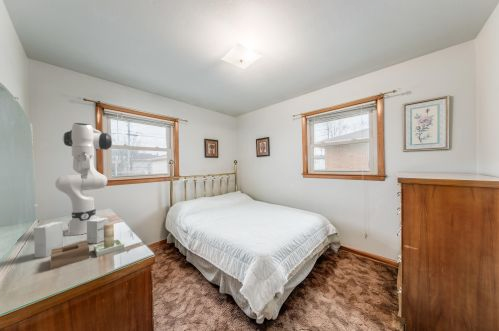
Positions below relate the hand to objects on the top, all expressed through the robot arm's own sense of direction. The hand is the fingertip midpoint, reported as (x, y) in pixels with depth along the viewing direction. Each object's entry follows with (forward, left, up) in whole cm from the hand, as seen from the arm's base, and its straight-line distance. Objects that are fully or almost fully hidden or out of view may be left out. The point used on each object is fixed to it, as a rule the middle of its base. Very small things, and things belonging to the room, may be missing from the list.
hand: (84, 178), depth 95 cm
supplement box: (-7, +6, -37) cm, 38 cm away
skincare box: (-6, -13, -37) cm, 40 cm away
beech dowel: (+13, +8, -36) cm, 39 cm away
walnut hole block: (+11, -6, -37) cm, 39 cm away
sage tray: (+13, +8, -37) cm, 40 cm away
